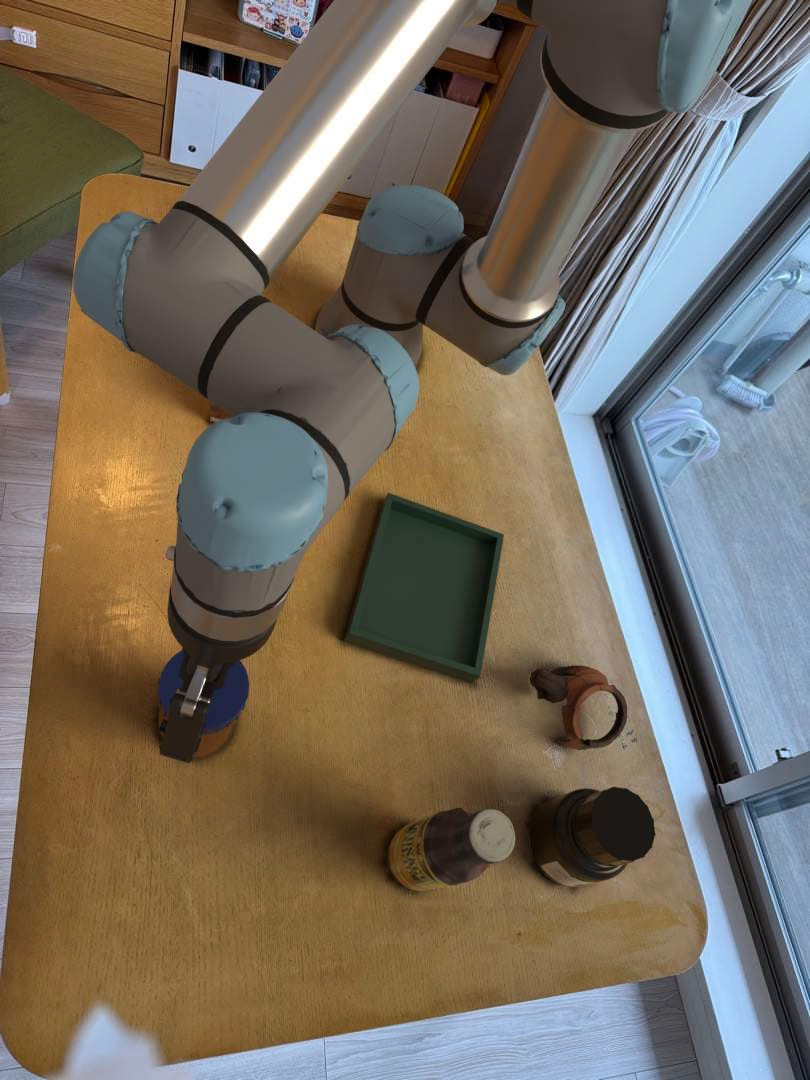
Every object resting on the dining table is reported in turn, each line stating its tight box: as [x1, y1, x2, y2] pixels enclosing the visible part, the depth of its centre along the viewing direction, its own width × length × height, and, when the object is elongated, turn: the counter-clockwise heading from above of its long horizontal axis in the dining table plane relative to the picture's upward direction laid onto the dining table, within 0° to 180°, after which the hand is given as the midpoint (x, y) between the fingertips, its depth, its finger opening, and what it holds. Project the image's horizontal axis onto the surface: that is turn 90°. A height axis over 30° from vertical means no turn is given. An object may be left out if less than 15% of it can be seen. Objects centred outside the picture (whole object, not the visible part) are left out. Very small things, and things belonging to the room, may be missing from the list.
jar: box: [157, 707, 236, 758], centre depth 73 cm, size 7×7×11 cm
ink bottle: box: [528, 786, 656, 888], centre depth 78 cm, size 10×9×12 cm
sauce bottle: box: [386, 807, 516, 892], centre depth 69 cm, size 6×6×20 cm
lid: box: [156, 649, 250, 735], centre depth 69 cm, size 8×8×2 cm
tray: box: [343, 492, 505, 684], centre depth 92 cm, size 20×16×3 cm
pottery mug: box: [528, 664, 628, 751], centre depth 88 cm, size 12×10×8 cm
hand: (200, 697), depth 71 cm, fingers open, 8 cm apart
